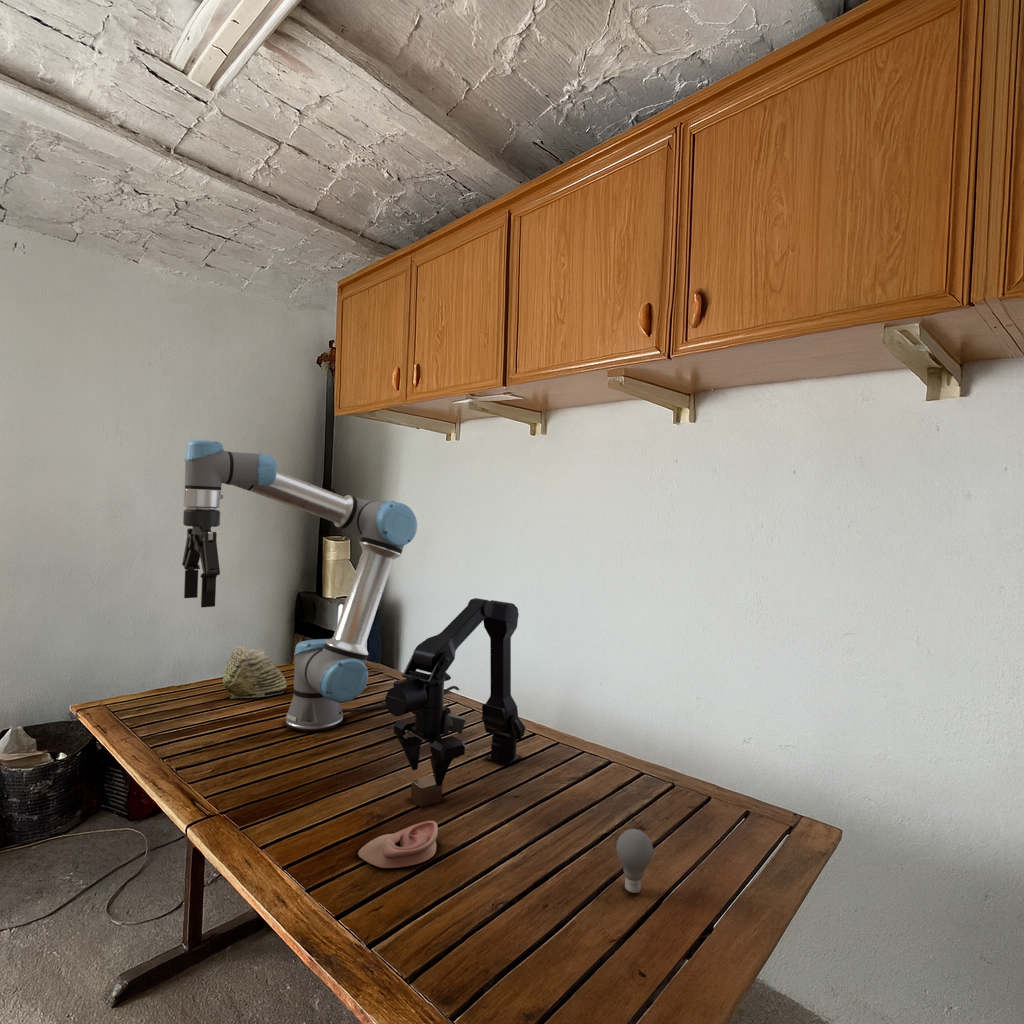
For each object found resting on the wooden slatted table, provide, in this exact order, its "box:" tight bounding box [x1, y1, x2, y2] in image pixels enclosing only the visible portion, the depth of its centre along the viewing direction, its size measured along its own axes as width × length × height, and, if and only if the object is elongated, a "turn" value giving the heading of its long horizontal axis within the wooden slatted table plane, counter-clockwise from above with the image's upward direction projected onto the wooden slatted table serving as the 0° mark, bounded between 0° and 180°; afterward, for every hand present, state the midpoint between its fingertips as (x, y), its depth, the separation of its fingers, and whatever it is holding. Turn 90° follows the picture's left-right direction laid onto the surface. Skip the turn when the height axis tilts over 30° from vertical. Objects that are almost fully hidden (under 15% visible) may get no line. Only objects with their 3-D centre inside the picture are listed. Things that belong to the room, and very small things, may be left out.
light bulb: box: [615, 828, 654, 894], centre depth 106 cm, size 6×6×10 cm
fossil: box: [222, 646, 288, 699], centre depth 198 cm, size 9×18×15 cm, turn 132°
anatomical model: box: [357, 820, 439, 869], centre depth 114 cm, size 13×4×12 cm
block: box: [410, 774, 443, 808], centre depth 134 cm, size 5×4×4 cm
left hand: (199, 602), depth 144 cm, fingers open, 13 cm apart
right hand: (426, 777), depth 134 cm, fingers open, 9 cm apart
